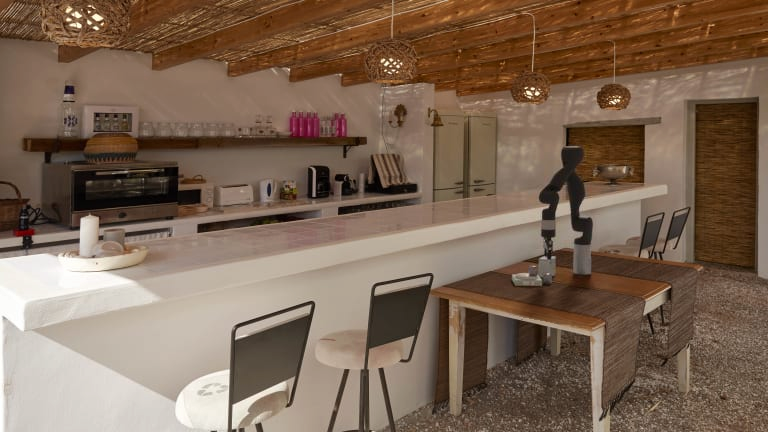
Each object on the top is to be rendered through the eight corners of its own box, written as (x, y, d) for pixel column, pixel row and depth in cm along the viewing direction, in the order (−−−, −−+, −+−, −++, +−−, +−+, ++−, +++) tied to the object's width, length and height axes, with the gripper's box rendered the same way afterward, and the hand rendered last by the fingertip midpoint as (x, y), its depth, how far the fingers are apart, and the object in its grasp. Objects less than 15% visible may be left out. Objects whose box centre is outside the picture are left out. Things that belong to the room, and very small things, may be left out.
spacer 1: (536, 274, 321) (536, 265, 320) (537, 276, 316) (537, 267, 316) (528, 274, 321) (528, 265, 321) (529, 276, 317) (529, 267, 316)
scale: (537, 280, 326) (537, 272, 325) (542, 286, 311) (542, 278, 311) (511, 279, 327) (512, 272, 327) (515, 285, 313) (515, 278, 312)
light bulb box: (544, 273, 342) (544, 255, 341) (555, 274, 339) (556, 256, 337) (538, 277, 334) (538, 258, 332) (549, 278, 330) (550, 259, 328)
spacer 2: (550, 282, 320) (550, 273, 320) (552, 284, 316) (552, 274, 316) (542, 282, 321) (542, 273, 320) (543, 283, 317) (544, 274, 316)
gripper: (558, 230, 308) (557, 260, 310) (553, 226, 322) (552, 255, 324) (543, 229, 308) (542, 260, 310) (539, 226, 323) (538, 255, 324)
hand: (547, 257), depth 317 cm, fingers open, 8 cm apart
